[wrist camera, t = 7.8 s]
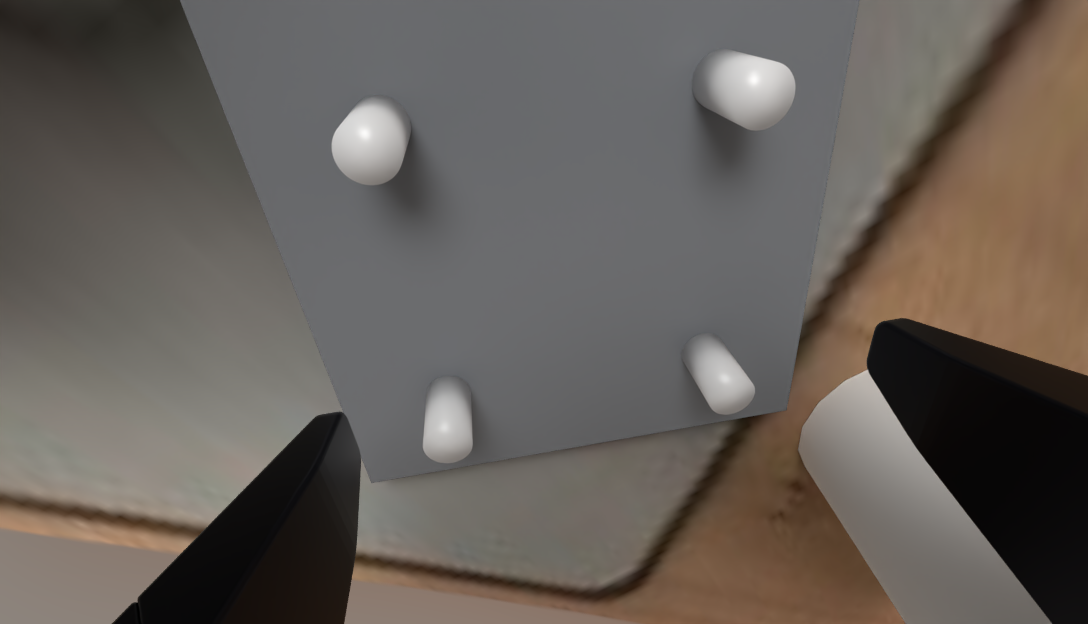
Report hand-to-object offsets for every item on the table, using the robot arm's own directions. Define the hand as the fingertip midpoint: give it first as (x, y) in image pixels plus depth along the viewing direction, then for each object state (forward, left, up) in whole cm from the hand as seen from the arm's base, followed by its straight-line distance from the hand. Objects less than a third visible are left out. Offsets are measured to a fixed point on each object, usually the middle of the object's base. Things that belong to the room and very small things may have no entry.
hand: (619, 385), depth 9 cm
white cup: (-11, +9, -6) cm, 15 cm away
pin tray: (0, 0, -6) cm, 6 cm away
